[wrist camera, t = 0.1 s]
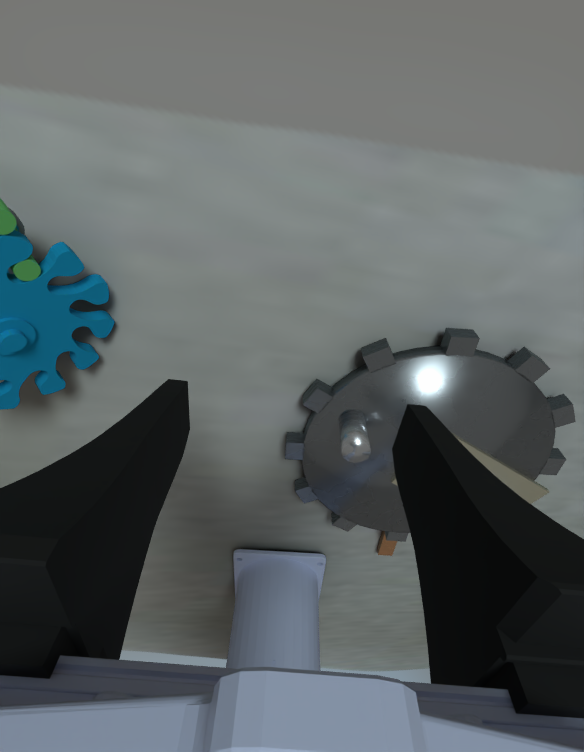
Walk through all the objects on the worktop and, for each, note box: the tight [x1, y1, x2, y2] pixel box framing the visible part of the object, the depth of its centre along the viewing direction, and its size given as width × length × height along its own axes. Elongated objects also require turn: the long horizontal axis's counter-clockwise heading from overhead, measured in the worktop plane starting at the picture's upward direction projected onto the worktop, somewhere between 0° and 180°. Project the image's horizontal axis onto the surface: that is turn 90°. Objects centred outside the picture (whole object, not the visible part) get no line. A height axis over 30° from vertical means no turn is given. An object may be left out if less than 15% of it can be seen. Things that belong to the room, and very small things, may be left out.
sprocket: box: [285, 328, 575, 541], centre depth 25 cm, size 18×18×4 cm
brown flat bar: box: [377, 531, 397, 556], centre depth 30 cm, size 15×5×1 cm, turn 177°
